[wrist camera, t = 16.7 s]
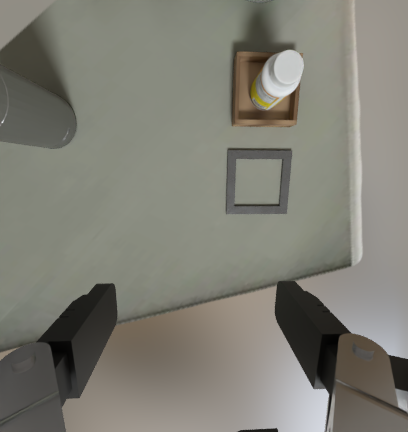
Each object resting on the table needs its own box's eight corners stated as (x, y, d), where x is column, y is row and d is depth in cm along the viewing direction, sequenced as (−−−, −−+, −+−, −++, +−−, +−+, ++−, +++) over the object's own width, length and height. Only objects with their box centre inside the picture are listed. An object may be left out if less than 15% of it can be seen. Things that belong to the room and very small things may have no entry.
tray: (232, 126, 39) (234, 123, 36) (234, 59, 37) (237, 51, 34) (289, 127, 39) (296, 124, 37) (295, 61, 37) (302, 53, 35)
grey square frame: (226, 213, 42) (226, 214, 42) (227, 150, 40) (228, 150, 39) (285, 213, 43) (286, 213, 43) (291, 150, 40) (292, 150, 40)
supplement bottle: (279, 75, 37) (311, 40, 27) (279, 110, 38) (310, 88, 28) (247, 77, 37) (267, 43, 27) (248, 112, 38) (268, 92, 28)
